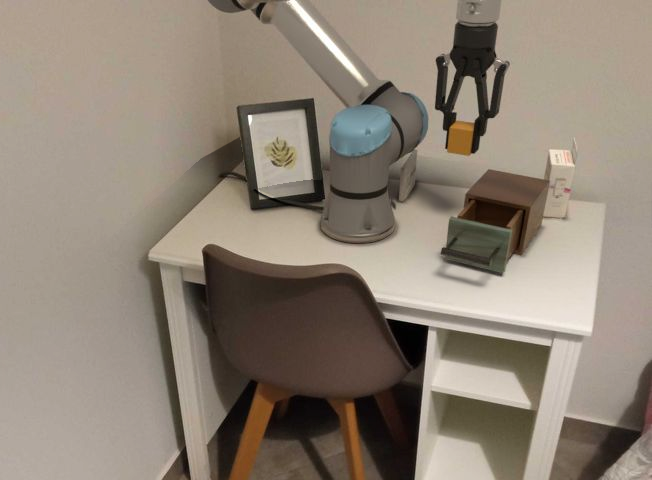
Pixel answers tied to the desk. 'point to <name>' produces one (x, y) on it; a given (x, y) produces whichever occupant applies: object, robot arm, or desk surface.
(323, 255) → the desk surface
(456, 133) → the block
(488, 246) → the drawer
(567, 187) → the ink cartridge box
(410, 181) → the cassette
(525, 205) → the cabinet
